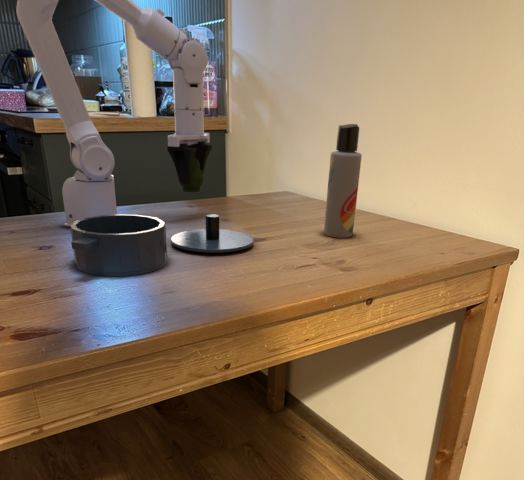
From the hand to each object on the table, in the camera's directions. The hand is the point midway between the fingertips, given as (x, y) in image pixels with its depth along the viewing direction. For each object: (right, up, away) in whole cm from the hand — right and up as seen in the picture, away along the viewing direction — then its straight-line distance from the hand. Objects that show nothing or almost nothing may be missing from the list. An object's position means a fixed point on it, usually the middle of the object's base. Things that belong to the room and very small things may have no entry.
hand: (191, 181), depth 104 cm
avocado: (0, -2, +1) cm, 2 cm away
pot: (-7, -22, -27) cm, 35 cm away
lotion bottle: (+30, -12, -6) cm, 33 cm away
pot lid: (+6, -16, -16) cm, 23 cm away
